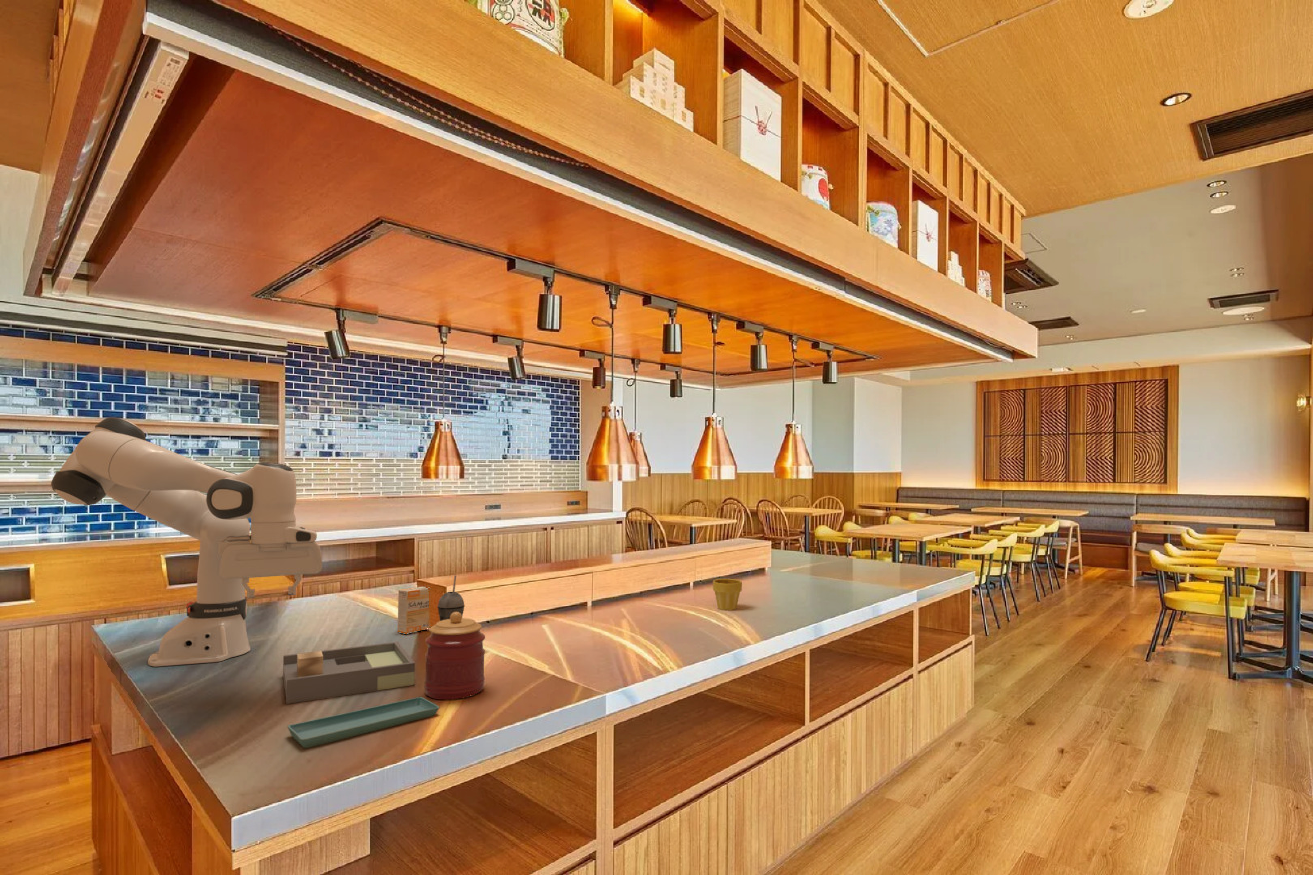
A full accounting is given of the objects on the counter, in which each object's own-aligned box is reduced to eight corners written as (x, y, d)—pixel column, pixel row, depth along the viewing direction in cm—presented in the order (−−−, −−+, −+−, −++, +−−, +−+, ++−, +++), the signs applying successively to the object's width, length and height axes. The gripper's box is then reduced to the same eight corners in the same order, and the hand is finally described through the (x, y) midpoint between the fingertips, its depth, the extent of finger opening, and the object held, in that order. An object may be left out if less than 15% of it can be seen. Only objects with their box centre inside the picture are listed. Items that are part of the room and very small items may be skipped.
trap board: (286, 704, 146) (287, 680, 146) (282, 676, 164) (283, 655, 165) (414, 684, 159) (414, 662, 159) (397, 661, 178) (397, 641, 178)
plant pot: (743, 611, 240) (743, 583, 241) (713, 611, 240) (713, 583, 241) (740, 605, 251) (740, 578, 251) (711, 605, 251) (711, 578, 251)
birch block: (298, 677, 154) (298, 659, 154) (296, 671, 159) (297, 653, 159) (322, 674, 157) (323, 656, 157) (320, 668, 161) (321, 651, 161)
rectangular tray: (420, 705, 146) (421, 694, 146) (440, 717, 140) (440, 705, 140) (285, 738, 128) (286, 725, 128) (301, 753, 122) (301, 739, 122)
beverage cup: (431, 648, 190) (432, 575, 191) (455, 643, 195) (456, 572, 196) (445, 653, 185) (446, 578, 186) (469, 648, 191) (470, 575, 191)
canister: (427, 704, 146) (428, 620, 147) (421, 686, 158) (423, 608, 158) (489, 696, 151) (490, 615, 152) (479, 679, 163) (480, 604, 164)
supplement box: (406, 635, 205) (406, 591, 205) (396, 633, 208) (397, 589, 208) (430, 630, 211) (430, 587, 212) (420, 628, 214) (421, 585, 215)
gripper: (217, 538, 147) (215, 603, 146) (323, 533, 157) (322, 594, 157) (219, 535, 152) (217, 598, 152) (321, 531, 163) (320, 590, 162)
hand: (271, 596), depth 154 cm, fingers open, 7 cm apart
